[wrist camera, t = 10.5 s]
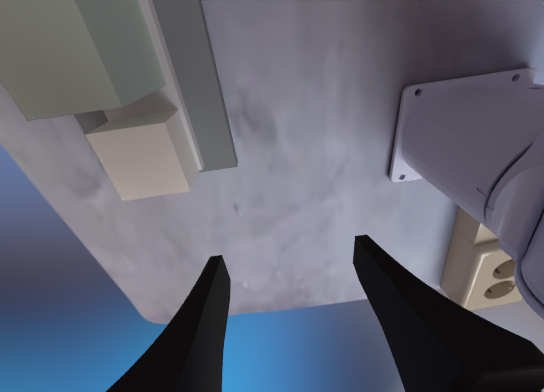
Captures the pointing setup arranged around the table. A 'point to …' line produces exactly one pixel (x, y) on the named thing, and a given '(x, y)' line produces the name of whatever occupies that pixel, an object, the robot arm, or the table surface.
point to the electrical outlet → (478, 267)
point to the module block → (76, 55)
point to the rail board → (192, 82)
